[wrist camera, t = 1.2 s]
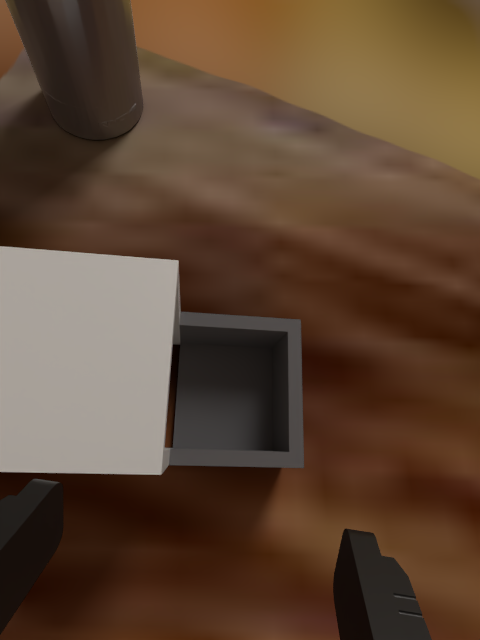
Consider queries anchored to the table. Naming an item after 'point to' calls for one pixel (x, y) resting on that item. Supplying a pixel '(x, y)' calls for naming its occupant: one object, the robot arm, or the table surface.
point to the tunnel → (85, 361)
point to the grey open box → (238, 392)
